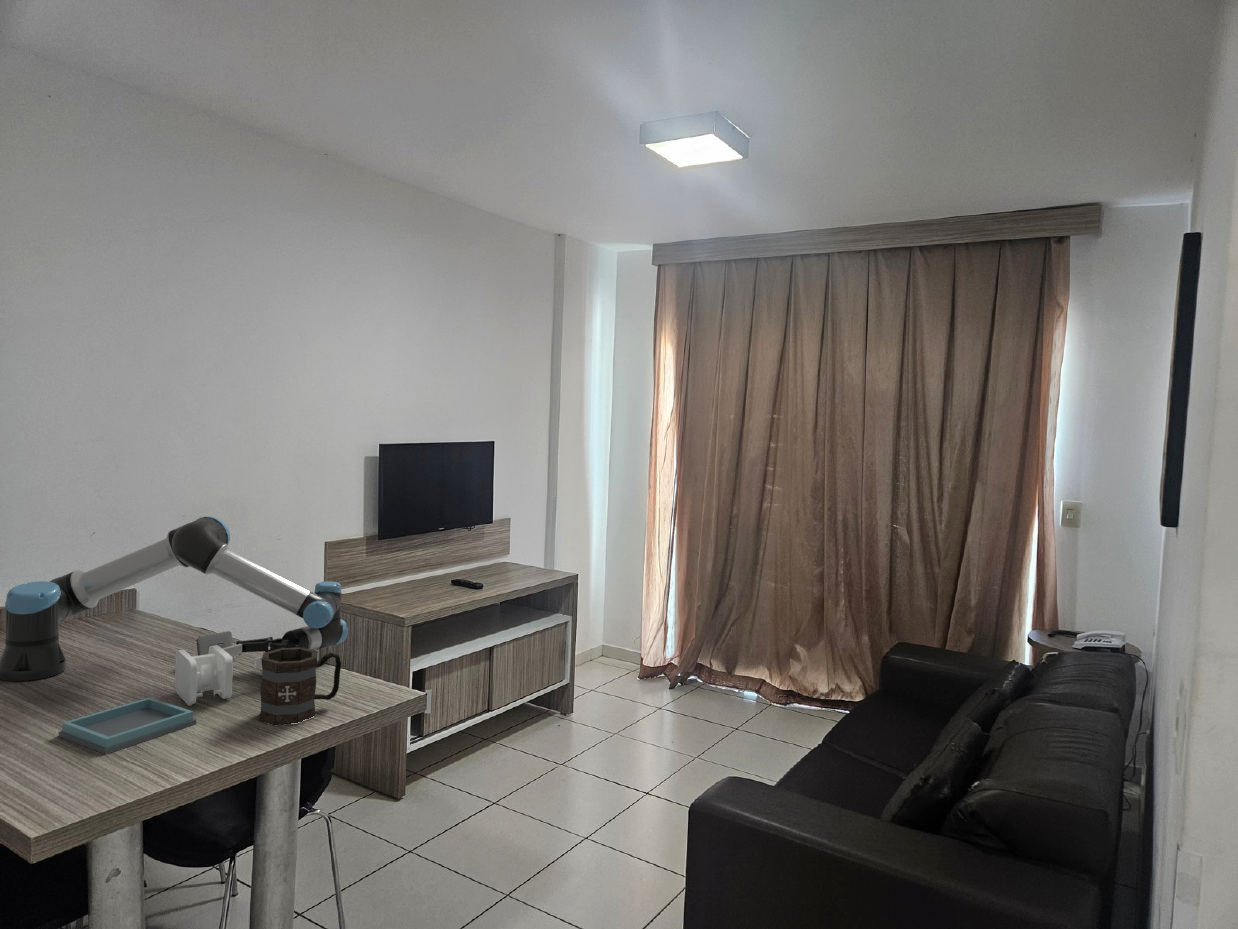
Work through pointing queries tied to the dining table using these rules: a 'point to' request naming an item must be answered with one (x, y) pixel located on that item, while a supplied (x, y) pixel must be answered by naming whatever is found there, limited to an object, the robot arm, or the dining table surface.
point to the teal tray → (126, 725)
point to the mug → (292, 684)
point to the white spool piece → (203, 674)
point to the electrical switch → (214, 642)
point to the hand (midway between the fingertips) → (237, 659)
